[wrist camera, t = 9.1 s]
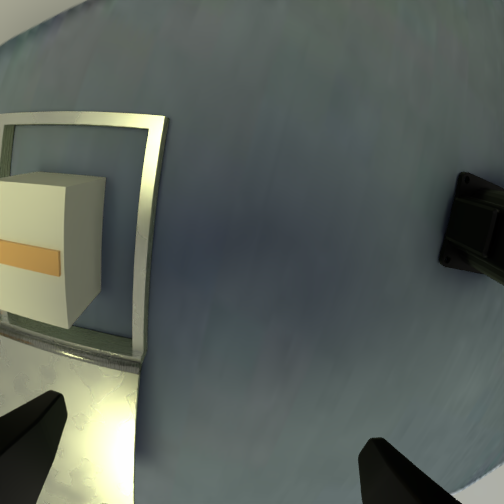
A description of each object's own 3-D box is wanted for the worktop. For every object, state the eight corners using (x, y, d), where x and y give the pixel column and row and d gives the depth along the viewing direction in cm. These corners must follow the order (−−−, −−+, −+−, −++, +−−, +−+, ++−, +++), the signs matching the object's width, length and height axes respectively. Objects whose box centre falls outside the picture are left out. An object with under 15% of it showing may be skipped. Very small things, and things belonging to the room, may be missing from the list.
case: (169, 118, 16) (106, 85, 7) (150, 458, 23) (135, 540, 15) (9, 114, 15) (-93, 111, 6) (41, 427, 22) (6, 493, 13)
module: (106, 177, 17) (63, 187, 12) (101, 290, 19) (67, 331, 14) (38, 171, 16) (-14, 180, 11) (38, 276, 18) (-5, 309, 13)
